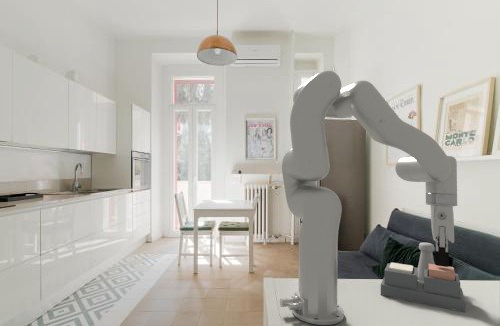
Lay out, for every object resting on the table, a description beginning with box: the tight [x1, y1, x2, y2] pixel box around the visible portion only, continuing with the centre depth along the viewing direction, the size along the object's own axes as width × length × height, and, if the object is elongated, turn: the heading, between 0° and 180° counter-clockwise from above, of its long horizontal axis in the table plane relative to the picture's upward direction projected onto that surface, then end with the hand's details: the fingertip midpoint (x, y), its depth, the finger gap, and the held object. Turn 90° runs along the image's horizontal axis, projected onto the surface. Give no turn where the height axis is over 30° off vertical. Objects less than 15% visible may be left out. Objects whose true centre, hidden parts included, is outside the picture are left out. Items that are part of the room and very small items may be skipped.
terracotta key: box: [429, 263, 456, 281], centre depth 84 cm, size 6×6×4 cm
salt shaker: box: [417, 242, 435, 281], centre depth 97 cm, size 6×6×13 cm
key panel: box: [380, 262, 466, 313], centre depth 86 cm, size 20×10×7 cm, turn 59°
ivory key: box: [389, 262, 414, 274], centre depth 89 cm, size 6×6×4 cm
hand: (441, 265), depth 84 cm, fingers closed
